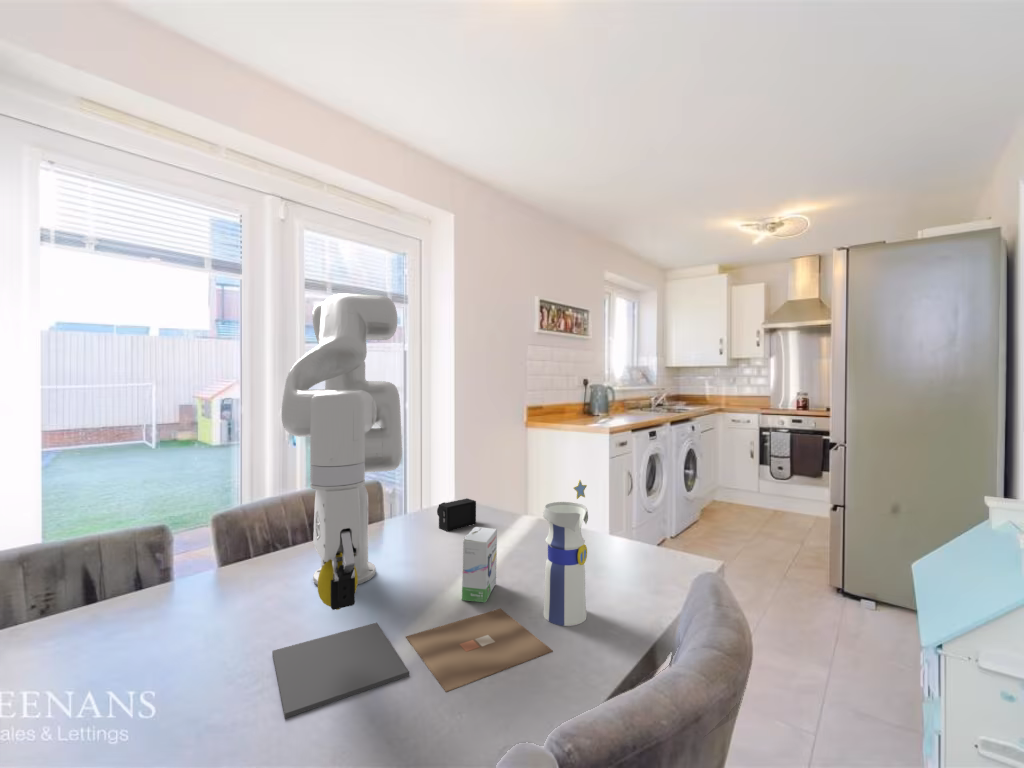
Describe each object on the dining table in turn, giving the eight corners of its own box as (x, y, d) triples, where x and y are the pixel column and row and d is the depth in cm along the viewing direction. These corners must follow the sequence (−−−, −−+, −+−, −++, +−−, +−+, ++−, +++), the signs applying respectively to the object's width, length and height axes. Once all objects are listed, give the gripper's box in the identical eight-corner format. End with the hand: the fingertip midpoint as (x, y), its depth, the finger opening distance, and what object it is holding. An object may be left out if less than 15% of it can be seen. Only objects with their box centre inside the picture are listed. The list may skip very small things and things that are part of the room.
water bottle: (596, 610, 86) (596, 473, 86) (578, 631, 78) (578, 482, 78) (555, 599, 90) (555, 469, 90) (534, 618, 83) (534, 477, 83)
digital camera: (464, 520, 142) (464, 497, 142) (476, 524, 138) (476, 500, 138) (436, 527, 135) (436, 503, 135) (447, 532, 131) (447, 507, 131)
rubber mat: (272, 654, 72) (272, 650, 72) (376, 625, 80) (376, 622, 80) (284, 718, 58) (284, 713, 58) (409, 675, 67) (409, 671, 67)
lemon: (308, 614, 67) (309, 558, 67) (336, 598, 73) (336, 546, 73) (339, 621, 65) (339, 564, 65) (365, 604, 70) (365, 551, 70)
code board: (405, 637, 77) (405, 636, 77) (500, 609, 86) (500, 608, 86) (445, 692, 63) (445, 690, 63) (552, 651, 73) (552, 650, 73)
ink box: (473, 582, 98) (473, 525, 98) (497, 584, 97) (497, 527, 97) (460, 601, 89) (460, 539, 89) (487, 603, 88) (487, 541, 88)
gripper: (301, 468, 74) (301, 583, 74) (321, 488, 60) (321, 631, 60) (350, 464, 78) (350, 573, 78) (380, 482, 64) (380, 615, 64)
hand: (338, 596), depth 69 cm, fingers closed on lemon, 5 cm apart
